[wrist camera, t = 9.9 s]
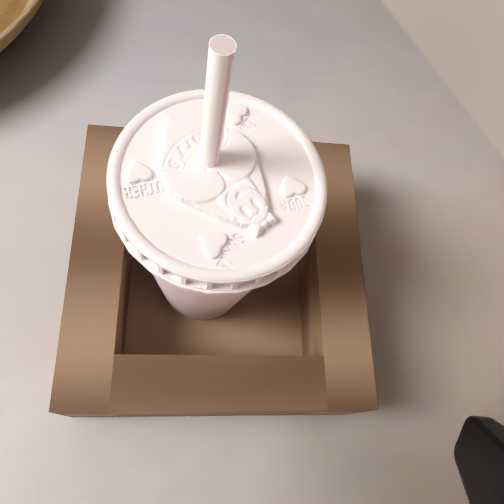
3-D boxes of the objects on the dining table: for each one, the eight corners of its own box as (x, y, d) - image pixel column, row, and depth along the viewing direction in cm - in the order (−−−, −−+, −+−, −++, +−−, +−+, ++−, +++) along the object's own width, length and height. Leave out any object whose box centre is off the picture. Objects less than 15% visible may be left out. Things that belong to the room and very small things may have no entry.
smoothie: (212, 197, 24) (255, -86, 11) (296, 292, 23) (455, 99, 10) (104, 270, 22) (0, 23, 9) (191, 380, 20) (219, 279, 8)
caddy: (343, 414, 22) (378, 409, 18) (72, 417, 20) (49, 412, 16) (324, 186, 26) (349, 144, 22) (101, 172, 24) (88, 124, 21)
